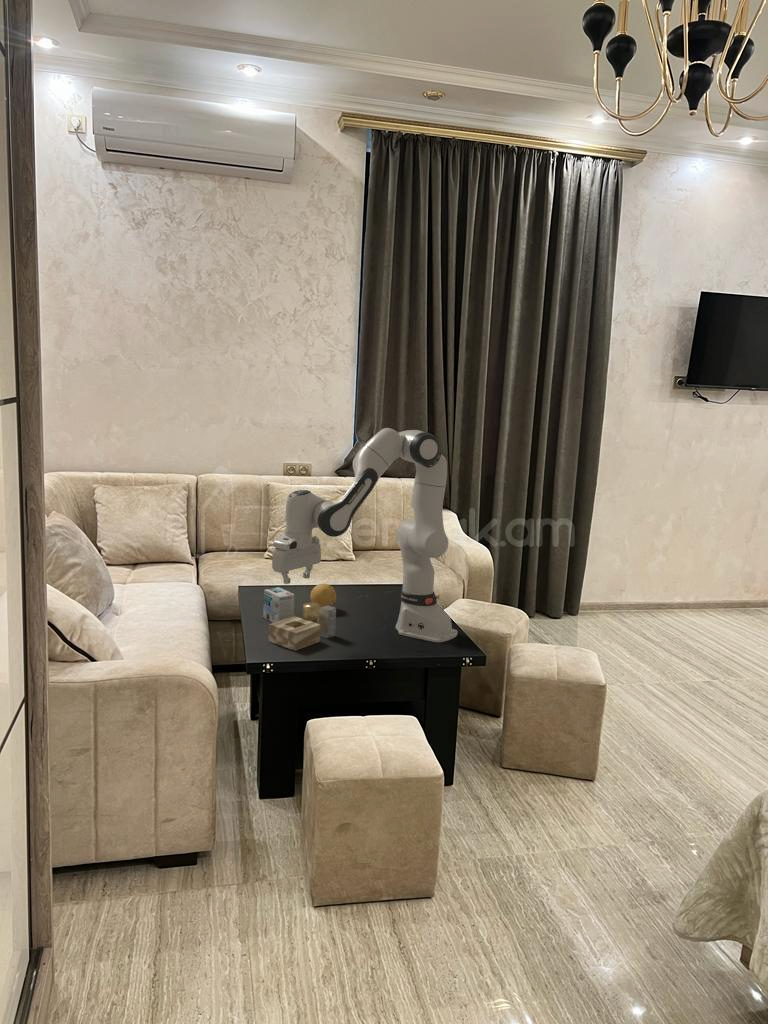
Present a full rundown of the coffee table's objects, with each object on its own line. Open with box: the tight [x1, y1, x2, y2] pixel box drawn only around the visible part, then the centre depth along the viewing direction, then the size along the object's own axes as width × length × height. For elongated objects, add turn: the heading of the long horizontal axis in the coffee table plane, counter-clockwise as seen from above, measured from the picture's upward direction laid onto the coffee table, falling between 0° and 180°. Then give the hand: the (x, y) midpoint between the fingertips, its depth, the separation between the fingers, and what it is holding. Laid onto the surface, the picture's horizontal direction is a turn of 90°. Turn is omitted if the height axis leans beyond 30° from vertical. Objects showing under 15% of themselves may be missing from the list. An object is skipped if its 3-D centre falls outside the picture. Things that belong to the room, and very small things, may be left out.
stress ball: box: [309, 583, 337, 608], centre depth 289 cm, size 10×10×10 cm
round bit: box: [302, 602, 320, 624], centre depth 269 cm, size 6×6×8 cm
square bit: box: [319, 605, 337, 639], centre depth 260 cm, size 4×4×10 cm
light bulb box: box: [263, 587, 296, 624], centre depth 273 cm, size 11×7×11 cm, turn 40°
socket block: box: [268, 615, 321, 651], centre depth 253 cm, size 12×12×6 cm
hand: (296, 580), depth 250 cm, fingers open, 8 cm apart
